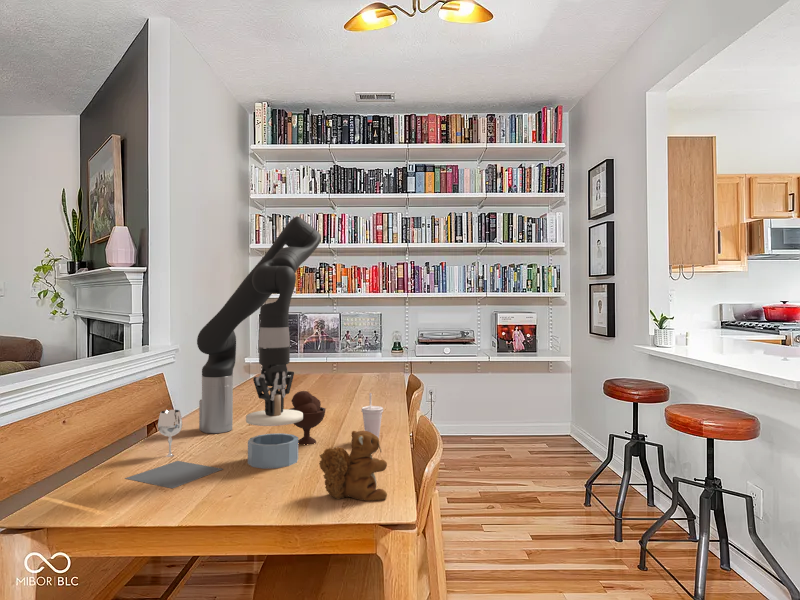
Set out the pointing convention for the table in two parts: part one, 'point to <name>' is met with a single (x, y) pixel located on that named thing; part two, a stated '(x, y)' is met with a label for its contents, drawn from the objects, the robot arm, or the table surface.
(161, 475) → the mat
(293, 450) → the bowl
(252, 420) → the lid
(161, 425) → the wineglass
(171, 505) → the table surface
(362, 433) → the stuffed squirrel
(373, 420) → the smoothie
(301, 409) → the ice cream bowl
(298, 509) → the table surface
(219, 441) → the table surface
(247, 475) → the table surface
